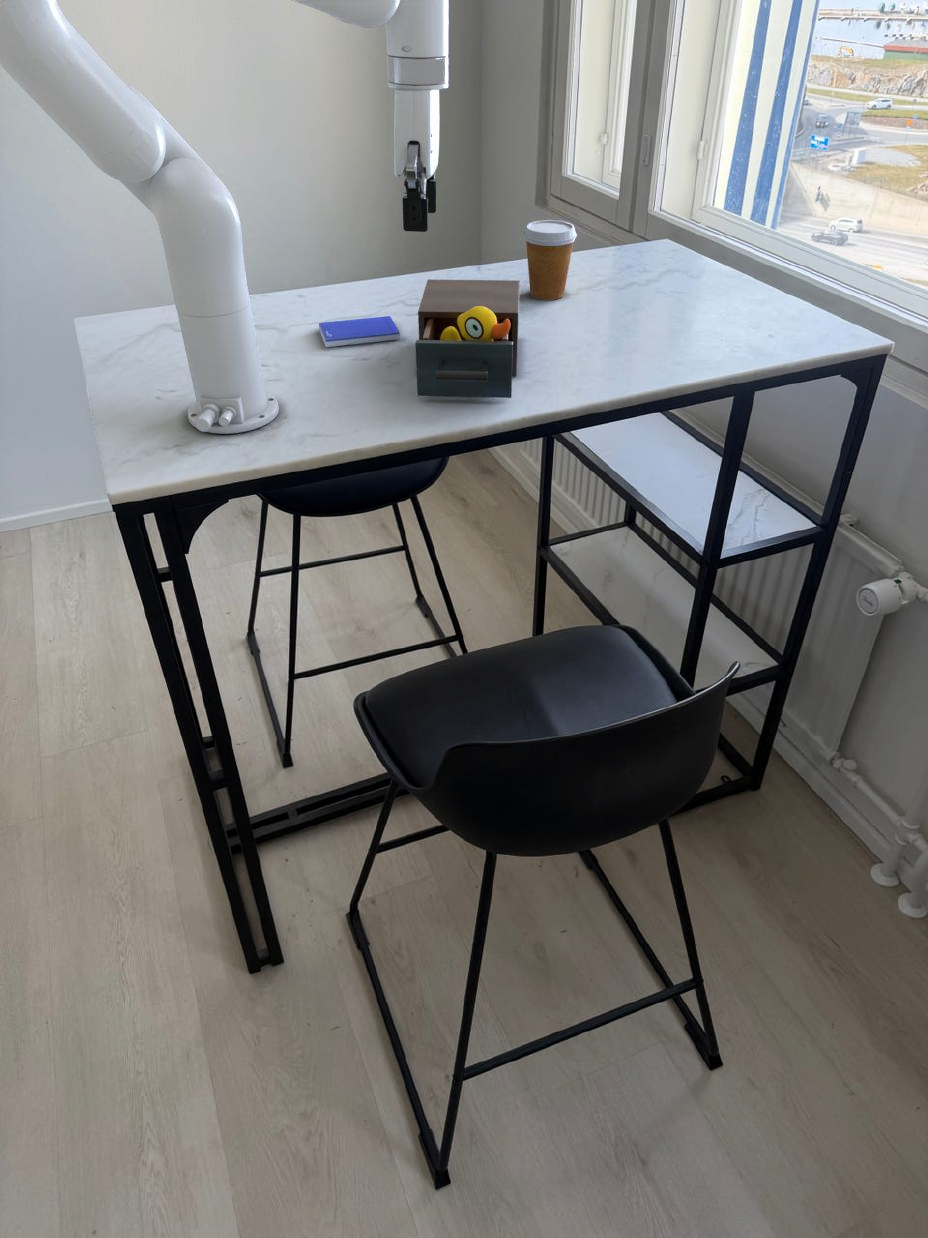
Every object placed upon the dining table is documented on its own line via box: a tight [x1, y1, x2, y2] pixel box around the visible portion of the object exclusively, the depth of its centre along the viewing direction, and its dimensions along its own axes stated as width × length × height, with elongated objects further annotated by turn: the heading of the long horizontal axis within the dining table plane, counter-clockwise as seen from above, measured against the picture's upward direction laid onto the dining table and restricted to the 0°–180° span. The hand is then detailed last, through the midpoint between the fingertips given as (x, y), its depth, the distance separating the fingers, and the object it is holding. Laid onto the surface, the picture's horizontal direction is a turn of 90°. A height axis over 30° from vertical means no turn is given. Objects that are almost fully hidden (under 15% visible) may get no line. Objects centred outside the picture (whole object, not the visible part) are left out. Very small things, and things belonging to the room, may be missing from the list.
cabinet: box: [417, 279, 521, 378], centre depth 136 cm, size 15×15×10 cm
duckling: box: [440, 306, 511, 341], centre depth 125 cm, size 11×5×10 cm, turn 61°
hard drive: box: [318, 315, 401, 348], centre depth 146 cm, size 2×8×12 cm
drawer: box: [414, 318, 513, 399], centre depth 126 cm, size 19×14×8 cm
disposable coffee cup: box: [523, 219, 578, 301], centre depth 158 cm, size 10×10×12 cm
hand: (420, 221), depth 117 cm, fingers open, 9 cm apart
